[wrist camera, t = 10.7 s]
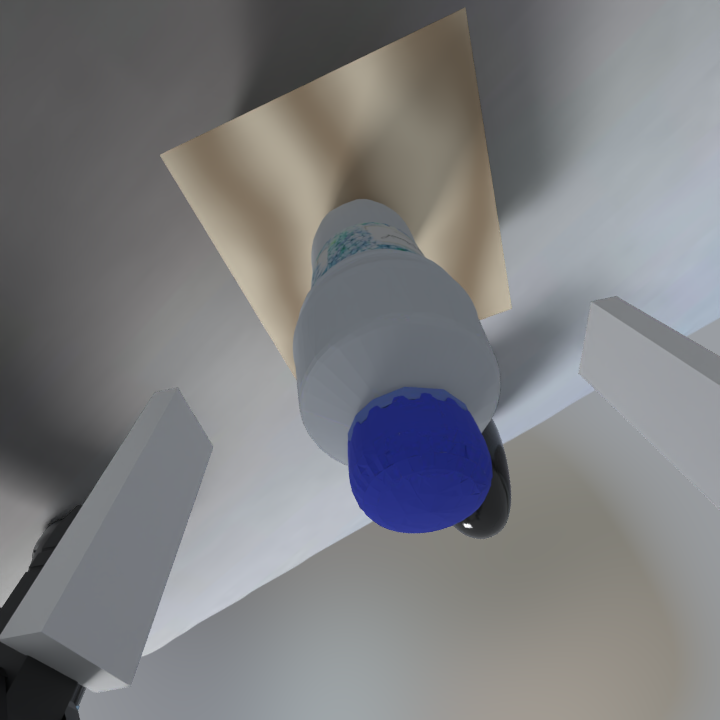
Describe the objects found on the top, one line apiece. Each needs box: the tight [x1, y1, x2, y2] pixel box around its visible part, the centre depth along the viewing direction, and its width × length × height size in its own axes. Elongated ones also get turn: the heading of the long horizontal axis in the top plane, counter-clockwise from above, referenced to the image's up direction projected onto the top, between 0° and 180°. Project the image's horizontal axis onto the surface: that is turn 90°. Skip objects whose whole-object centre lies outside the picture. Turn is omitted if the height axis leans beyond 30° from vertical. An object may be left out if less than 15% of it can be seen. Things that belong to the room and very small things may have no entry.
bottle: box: [293, 199, 501, 533], centre depth 16 cm, size 7×7×20 cm
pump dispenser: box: [453, 419, 511, 539], centre depth 38 cm, size 10×10×15 cm
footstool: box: [160, 8, 512, 380], centre depth 28 cm, size 18×18×8 cm
